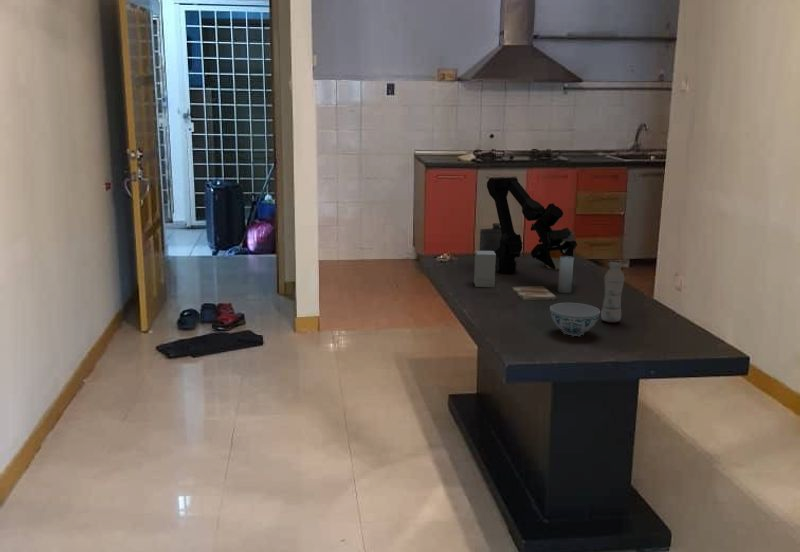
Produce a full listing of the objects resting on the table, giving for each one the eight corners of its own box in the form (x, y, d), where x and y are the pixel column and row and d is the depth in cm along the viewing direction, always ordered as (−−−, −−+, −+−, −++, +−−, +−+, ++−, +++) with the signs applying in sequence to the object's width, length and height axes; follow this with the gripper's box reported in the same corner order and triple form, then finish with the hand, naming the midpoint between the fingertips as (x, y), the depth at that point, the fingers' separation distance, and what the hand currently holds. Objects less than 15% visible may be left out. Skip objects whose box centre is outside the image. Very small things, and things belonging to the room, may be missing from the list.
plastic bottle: (598, 322, 253) (602, 262, 248) (603, 317, 259) (608, 258, 254) (618, 325, 250) (623, 264, 245) (622, 320, 256) (628, 260, 251)
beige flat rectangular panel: (511, 289, 292) (512, 286, 292) (542, 288, 294) (543, 286, 293) (523, 300, 278) (523, 297, 277) (556, 299, 279) (556, 296, 279)
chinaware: (562, 323, 252) (564, 299, 250) (606, 332, 243) (608, 308, 241) (539, 333, 241) (541, 309, 239) (584, 344, 232) (586, 319, 230)
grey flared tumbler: (556, 292, 289) (559, 257, 286) (558, 289, 294) (560, 254, 291) (570, 293, 288) (573, 258, 285) (572, 290, 292) (574, 256, 289)
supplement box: (494, 287, 295) (496, 254, 292) (475, 287, 295) (476, 254, 292) (492, 282, 302) (494, 250, 299) (473, 282, 302) (475, 250, 299)
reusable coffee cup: (540, 269, 325) (542, 233, 322) (543, 262, 337) (546, 228, 333) (571, 271, 322) (573, 235, 318) (573, 265, 333) (576, 230, 330)
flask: (477, 265, 329) (478, 223, 325) (508, 264, 333) (510, 222, 329) (480, 267, 326) (482, 224, 322) (512, 266, 330) (514, 223, 325)
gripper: (537, 222, 285) (556, 258, 279) (575, 218, 295) (594, 253, 288) (522, 240, 294) (540, 275, 287) (559, 236, 303) (578, 269, 297)
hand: (564, 267), depth 290 cm, fingers open, 9 cm apart
